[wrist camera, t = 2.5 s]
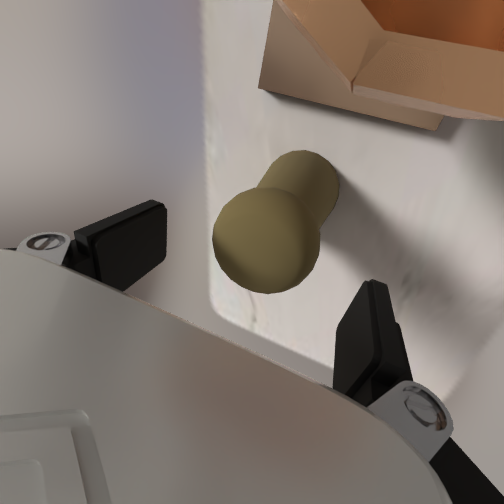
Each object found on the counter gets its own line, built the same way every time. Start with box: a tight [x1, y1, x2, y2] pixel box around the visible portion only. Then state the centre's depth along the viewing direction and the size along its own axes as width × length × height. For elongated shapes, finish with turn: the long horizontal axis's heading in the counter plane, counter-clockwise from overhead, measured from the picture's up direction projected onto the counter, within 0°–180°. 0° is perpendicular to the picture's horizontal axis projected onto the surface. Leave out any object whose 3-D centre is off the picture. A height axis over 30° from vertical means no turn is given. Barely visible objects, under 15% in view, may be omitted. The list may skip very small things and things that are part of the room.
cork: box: [212, 150, 339, 294], centre depth 15 cm, size 6×6×11 cm
